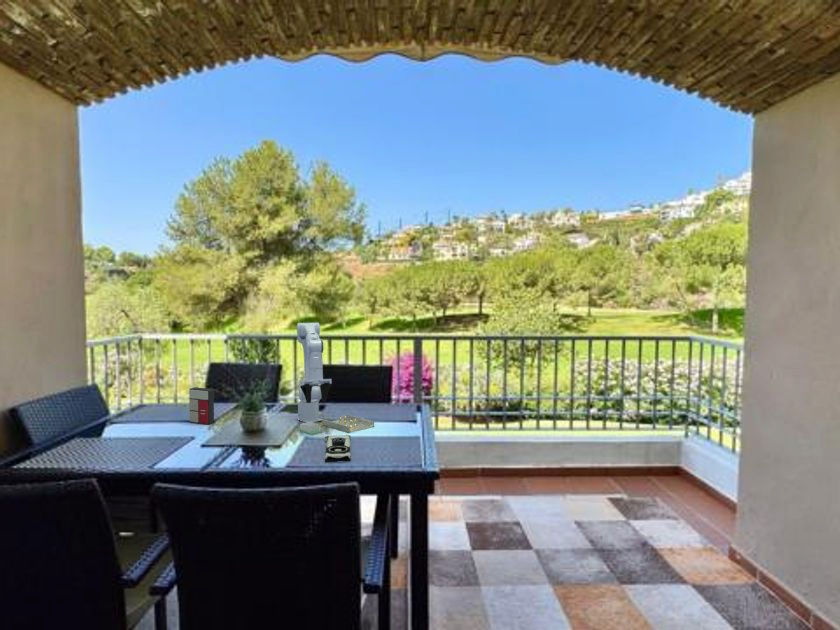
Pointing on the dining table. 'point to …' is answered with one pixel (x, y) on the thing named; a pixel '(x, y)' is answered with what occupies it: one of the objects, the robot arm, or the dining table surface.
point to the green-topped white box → (309, 428)
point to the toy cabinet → (201, 405)
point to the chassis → (349, 423)
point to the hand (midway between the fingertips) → (316, 402)
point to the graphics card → (338, 448)
